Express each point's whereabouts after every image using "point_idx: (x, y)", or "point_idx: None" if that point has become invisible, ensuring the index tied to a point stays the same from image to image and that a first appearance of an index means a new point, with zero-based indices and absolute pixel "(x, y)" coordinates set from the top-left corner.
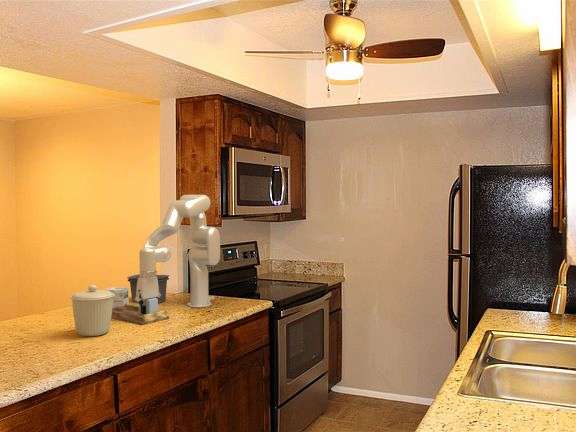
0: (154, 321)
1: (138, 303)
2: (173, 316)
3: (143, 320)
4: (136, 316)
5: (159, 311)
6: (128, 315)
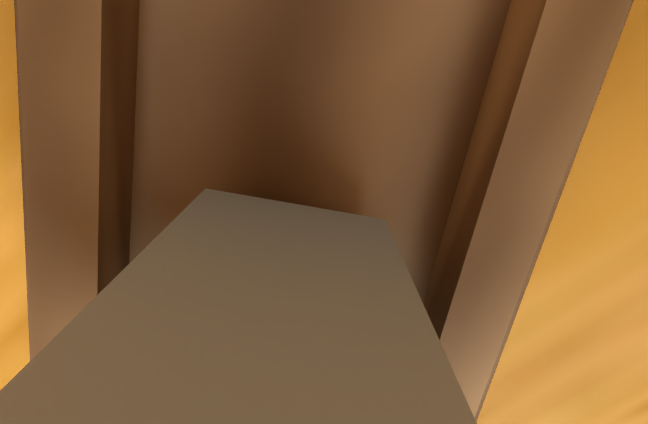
0: None
1: (107, 289)
2: (577, 411)
3: None
4: (33, 301)
5: (469, 396)
6: (35, 83)
